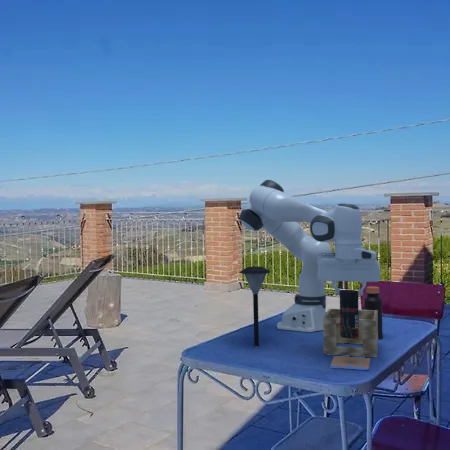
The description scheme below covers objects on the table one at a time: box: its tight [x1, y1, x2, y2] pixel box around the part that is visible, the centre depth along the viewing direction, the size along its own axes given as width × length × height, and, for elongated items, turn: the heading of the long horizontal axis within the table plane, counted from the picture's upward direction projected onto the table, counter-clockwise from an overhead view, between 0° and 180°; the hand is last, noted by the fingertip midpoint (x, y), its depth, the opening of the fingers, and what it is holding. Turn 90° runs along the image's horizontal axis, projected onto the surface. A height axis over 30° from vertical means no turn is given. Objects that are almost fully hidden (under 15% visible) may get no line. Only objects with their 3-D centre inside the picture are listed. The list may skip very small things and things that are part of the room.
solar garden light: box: [238, 266, 272, 347], centre depth 197 cm, size 12×12×30 cm
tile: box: [329, 355, 371, 370], centre depth 172 cm, size 12×12×1 cm
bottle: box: [363, 285, 384, 340], centre depth 206 cm, size 7×7×20 cm
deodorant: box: [339, 289, 359, 339], centre depth 171 cm, size 6×6×15 cm
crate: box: [322, 308, 379, 358], centre depth 189 cm, size 18×18×13 cm
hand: (349, 294), depth 171 cm, fingers closed on deodorant, 6 cm apart
